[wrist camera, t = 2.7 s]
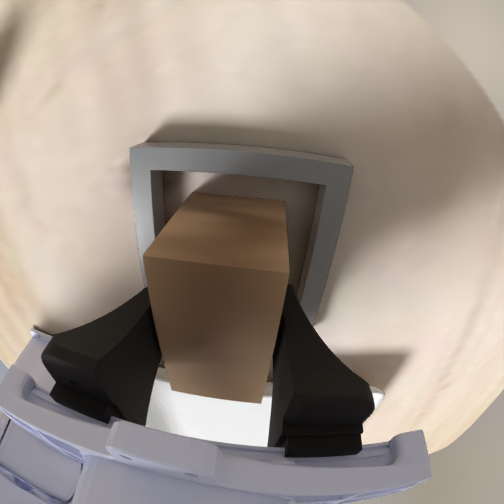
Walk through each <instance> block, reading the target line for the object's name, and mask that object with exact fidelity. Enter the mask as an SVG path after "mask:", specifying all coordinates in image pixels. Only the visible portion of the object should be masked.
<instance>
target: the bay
mask: <svg viewBox="0 0 504 504" xmlns="http://www.w3.org/2000/svg"><path fill="white" fill-rule="evenodd" d="M130 167H131V183H132V196H133V207H134V216H135V225H136V234H137V241H138V249H139V255H140V262H141V268H142V274H143V280H144V286H145V288H146V287H147V281H146V275H145V269H144V262H143V254H144V253H145V252H146V250H147V249H148V248H149V246H150V245H151V244H152V242H153V241H154V240H155V238H156V237H157V236H158V234H159V233H160V232H161V230H162V229H163V228H164V227H165V212H164V191H163V170H169V171H191V172H208V173H222V174H234V175H245V176H256V177H265V178H274V179H283V180H291V181H299V182H306V183H313V184H319V190H318V196H317V201H316V207H315V212H314V217H313V223H312V228H311V233H310V238H309V243H308V248H307V252H306V257H305V262H304V266H303V271H302V276H301V280H300V285H299V289H298V293H297V298H298V300H299V302H300V305H301V307H302V309H303V310H304V312H305V314H306V316H307V318H308V319H309V321H310V323H311V324H312V326H313V323H314V320H315V317H316V314H317V311H318V307H319V304H320V301H321V298H322V294H323V291H324V287H325V284H326V280H327V277H328V273H329V270H330V266H331V262H332V259H333V255H334V251H335V247H336V243H337V239H338V235H339V231H340V227H341V223H342V219H343V215H344V210H345V206H346V201H347V197H348V192H349V187H350V182H351V177H352V172H353V167H354V166H353V165H351V164H350V163H349V162H348V161H347V160H346V159H343V158H338V157H332V156H326V155H320V154H314V153H307V152H300V151H292V150H284V149H276V148H267V147H257V146H245V145H232V144H216V143H193V142H143V143H141V144H138V145H136V146H133V147H131V148H130Z"/></svg>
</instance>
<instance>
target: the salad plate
mask: <svg viewBox="0 0 504 504" xmlns="http://www.w3.org/2000/svg"><path fill="white" fill-rule="evenodd" d="M369 386H370V385H369ZM272 389H273V382H266V386H265V390H264V395H263V399H262V403H261V404H257V403H247V402H238V401H230V400H223V399H216V398H210V397H203V396H198V395H192V394H187V393H182V392H177V391H172V390H171V386H170V383H169V379H168V376H167V372H166V368H160V367H158V370H157V374H156V377H155V381H154V385H153V390H152V394H151V399H150V404H149V409H148V414H147V421H146V427H149V428H153V429H157V430H161V431H165V432H169V433H173V434H178V435H183V436H187V437H193V438H198V439H204V440H210V441H216V442H223V443H231V444H239V445H249V446H261V447H267V444H268V435H269V425H270V415H271V403H272ZM370 389H371V391H372V394H373V398H374V403H375V409H376V408H377V406H378V405H379V404H380V402H381V401H382V399H383V398H384V395H385V394H384V392H383V391H381V390H380V389H378V388H376V387H373V386H370ZM375 409H374V410H375ZM366 420H367V419H366ZM366 420H365V421H366ZM365 421H364V422H365Z"/></svg>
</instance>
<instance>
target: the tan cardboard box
mask: <svg viewBox="0 0 504 504" xmlns="http://www.w3.org/2000/svg"><path fill="white" fill-rule="evenodd" d="M143 262H144V269H145V275H146V281H147V287H148V292H149V298H150V303H151V308H152V313H153V318H154V323H155V327H156V332H157V336H158V340H159V345H160V349H161V353H162V357H163V361H164V365H165V368H166V372H167V376H168V379H169V383H170V386H171V390H172V391H177V392H182V393H187V394H192V395H198V396H203V397H210V398H216V399H223V400H230V401H238V402H247V403H257V404H261V403H262V399H263V395H264V390H265V386H266V382H267V378H268V373H269V369H270V365H271V360H272V356H273V352H274V347H275V343H276V338H277V333H278V329H279V324H280V319H281V314H282V309H283V305H284V300H285V295H286V290H287V284H288V279H289V274H290V269H289V253H288V238H287V224H286V211H285V201H279V200H270V199H261V198H252V197H241V196H231V195H219V194H207V193H193V192H192V193H191V194H190V196H189V197H188V198H187V199H186V200H185V202H184V203H183V204H182V205H181V206H180V208H179V209H178V210H177V211H176V213H175V214H174V215H173V216H172V218H171V219H170V220H169V221H168V223H167V224H166V225H165V227H164V228H163V229H162V230H161V232H160V233H159V234H158V236H157V237H156V238H155V240H154V241H153V242H152V244H151V245H150V246H149V248H148V249H147V250H146V252H145V253H144V254H143Z"/></svg>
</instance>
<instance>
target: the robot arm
mask: <svg viewBox="0 0 504 504" xmlns="http://www.w3.org/2000/svg"><path fill="white" fill-rule="evenodd" d="M30 333H31V334H32V336H33V337H32V338H31V340H30V341H29V343H28V344H27V346H26V347H25V349H24V350H23V352H22V353H21V355H20V356H19V358H18V359H17V361H16V362H15V364H14V365H11V367H10V369H9V370H8V372H7V373H6V375H5V377H4V379H3V380H2V382H1V384H0V504H343V503H350V502H356V501H361V500H366V499H371V498H376V497H381V496H385V495H389V494H394V493H397V492H401V491H404V490H406V489H408V488H411V487H413V486H415V485H417V484H419V483H421V482H423V481H425V480H427V479H429V478H431V477H432V472H431V466H430V461H429V456H428V451H427V446H426V442H425V437H424V433H423V430H416V431H411V432H406V433H401V434H398V435H396V436H394V437H393V438H392V439H391V440H390V441H389V442H382V443H375V444H367V445H362V442H361V434H362V433H363V426H362V424H363V423H364V421H365V420H366V419H367V418H368V417H369V416H370V415H371V414H372V412H373V411H374V409H375V403H374V398H373V394H372V391H371V389H370V386H369V384H368V383H367V382H366V381H364V380H363V379H362V378H360V377H359V376H358V375H356V374H355V373H354V372H352V371H351V370H350V369H349V368H348V367H347V366H346V365H344V364H343V363H342V362H341V361H340V360H339V359H338V358H337V357H336V356H335V354H334V353H333V352H332V351H331V350H330V349H329V348H328V347H327V345H326V344H325V343H324V342H323V340H322V339H321V338H320V336H319V335H318V333H317V332H316V331H315V329H314V327H313V326H312V324H311V323H310V321H309V319H308V318H307V316H306V314H305V312H304V310H303V309H302V307H301V305H300V302H299V300H298V298H297V296H296V294H295V291H294V288H293V286H292V285H289V284H287V290H286V295H285V300H284V305H283V309H282V314H281V319H280V324H279V329H278V333H277V338H276V343H275V347H274V352H273V356H272V358H273V389H272V403H271V415H270V425H269V435H268V444H267V447H261V446H249V445H239V444H231V443H223V442H216V441H210V440H204V439H198V438H193V437H187V436H183V435H178V434H173V433H169V432H165V431H161V430H157V429H153V428H149V427H146V421H147V414H148V409H149V404H150V399H151V394H152V390H153V385H154V381H155V377H156V374H157V370H158V366H159V363H160V360H161V357H162V353H161V349H160V345H159V340H158V336H157V332H156V327H155V323H154V318H153V313H152V308H151V303H150V298H149V292H148V287H146V288H144V289H143V290H142V291H141V292H139V293H138V294H137V295H135V296H134V297H133V298H131V299H130V300H129V301H127V302H126V303H124V304H123V305H121V306H120V307H118V308H117V309H115V310H113V311H112V312H110V313H108V314H106V315H104V316H102V317H100V318H98V319H96V320H94V321H92V322H90V323H88V324H85V325H83V326H80V327H78V328H75V329H72V330H69V331H65V332H62V333H58V334H54V336H50V335H48V334H45V333H43V332H40V331H38V330H35V329H33V328H32V329H31V330H30ZM6 469H7V470H6ZM9 471H10V472H9ZM12 473H13V474H12ZM15 475H16V476H15ZM18 477H19V478H18ZM26 482H27V483H26ZM31 485H32V486H31ZM38 489H39V490H38Z"/></svg>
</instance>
